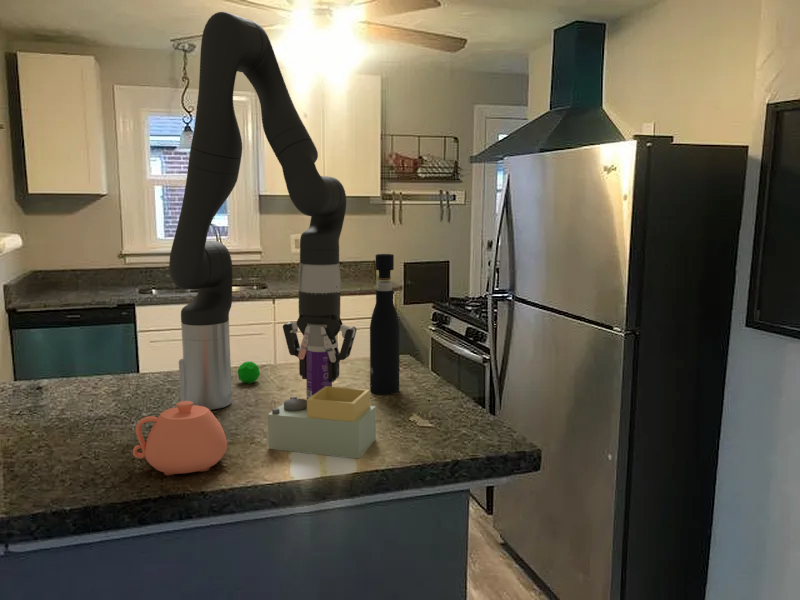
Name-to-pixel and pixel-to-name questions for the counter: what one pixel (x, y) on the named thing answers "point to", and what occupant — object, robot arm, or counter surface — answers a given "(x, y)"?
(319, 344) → the container
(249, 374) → the polyhedron
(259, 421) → the counter surface
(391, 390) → the wine bottle
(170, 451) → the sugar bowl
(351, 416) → the grey-green box with tray
